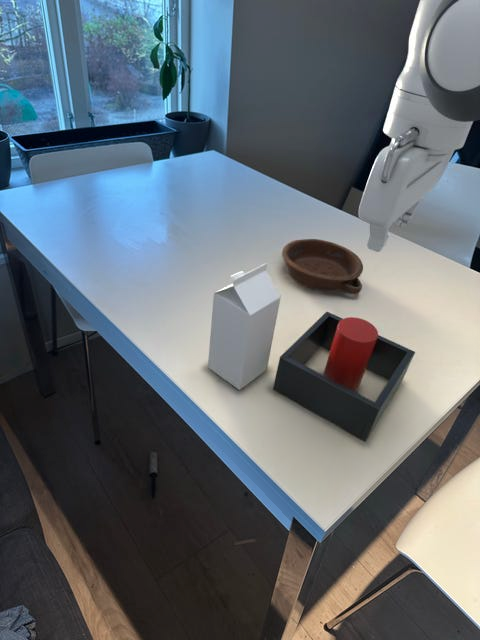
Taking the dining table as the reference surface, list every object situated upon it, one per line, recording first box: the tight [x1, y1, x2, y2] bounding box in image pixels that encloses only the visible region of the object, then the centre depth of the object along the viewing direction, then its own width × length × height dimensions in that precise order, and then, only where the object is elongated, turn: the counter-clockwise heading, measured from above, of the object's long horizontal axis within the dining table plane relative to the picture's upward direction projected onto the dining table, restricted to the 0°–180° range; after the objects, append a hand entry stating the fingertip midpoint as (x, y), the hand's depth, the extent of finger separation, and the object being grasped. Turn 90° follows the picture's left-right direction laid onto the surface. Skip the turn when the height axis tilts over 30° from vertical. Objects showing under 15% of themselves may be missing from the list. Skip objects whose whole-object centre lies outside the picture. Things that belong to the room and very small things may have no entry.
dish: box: [281, 238, 364, 295], centre depth 100 cm, size 18×22×5 cm
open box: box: [272, 311, 416, 443], centre depth 72 cm, size 16×16×7 cm
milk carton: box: [207, 262, 282, 391], centre depth 69 cm, size 7×7×19 cm
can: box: [322, 316, 379, 393], centre depth 70 cm, size 6×6×12 cm
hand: (388, 236), depth 57 cm, fingers open, 8 cm apart
